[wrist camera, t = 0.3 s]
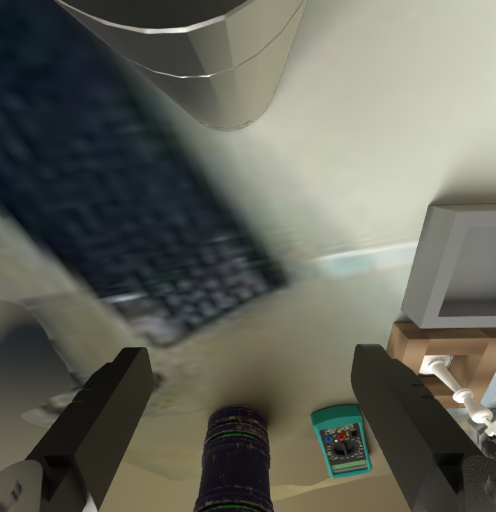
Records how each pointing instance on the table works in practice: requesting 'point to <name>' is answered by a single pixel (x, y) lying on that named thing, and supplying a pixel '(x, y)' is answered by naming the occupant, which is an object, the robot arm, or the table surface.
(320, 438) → the digital multimeter
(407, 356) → the socket stand
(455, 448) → the robot arm
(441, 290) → the parts tray
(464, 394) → the chess piece
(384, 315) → the table surface
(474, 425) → the lantern
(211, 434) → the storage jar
